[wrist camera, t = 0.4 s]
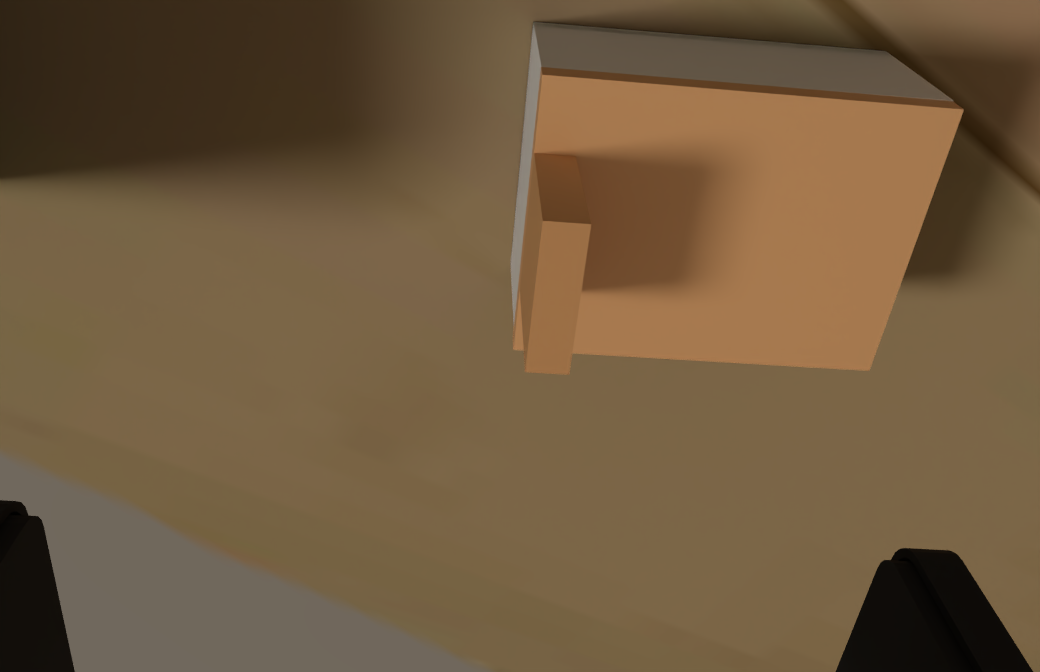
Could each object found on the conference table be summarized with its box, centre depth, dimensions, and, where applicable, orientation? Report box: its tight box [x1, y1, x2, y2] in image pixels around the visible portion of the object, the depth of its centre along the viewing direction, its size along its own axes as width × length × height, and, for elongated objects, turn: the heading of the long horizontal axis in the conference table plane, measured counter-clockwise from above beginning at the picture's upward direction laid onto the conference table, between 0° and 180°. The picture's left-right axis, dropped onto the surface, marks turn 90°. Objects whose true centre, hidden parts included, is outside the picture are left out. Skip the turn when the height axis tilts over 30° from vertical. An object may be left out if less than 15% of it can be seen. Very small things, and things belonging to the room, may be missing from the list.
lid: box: [513, 67, 964, 375], centre depth 35 cm, size 12×16×8 cm
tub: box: [511, 22, 954, 321], centre depth 41 cm, size 12×16×7 cm
